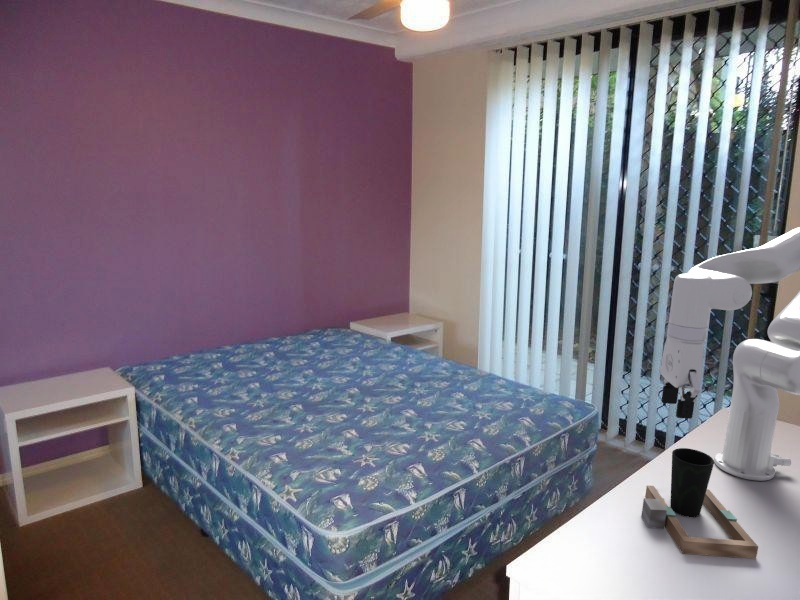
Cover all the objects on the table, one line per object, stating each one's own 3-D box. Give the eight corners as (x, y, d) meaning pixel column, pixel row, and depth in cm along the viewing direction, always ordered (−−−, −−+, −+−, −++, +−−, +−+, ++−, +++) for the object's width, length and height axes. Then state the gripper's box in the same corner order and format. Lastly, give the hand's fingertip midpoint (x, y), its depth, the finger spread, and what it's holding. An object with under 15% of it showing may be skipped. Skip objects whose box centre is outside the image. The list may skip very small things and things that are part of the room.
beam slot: (708, 500, 123) (710, 483, 122) (756, 558, 104) (760, 539, 103) (628, 494, 124) (630, 477, 123) (662, 552, 105) (665, 532, 104)
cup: (710, 523, 115) (719, 468, 112) (669, 517, 116) (677, 463, 114) (699, 502, 122) (707, 450, 119) (660, 497, 123) (668, 445, 121)
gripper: (654, 321, 131) (644, 394, 134) (685, 342, 114) (674, 426, 117) (687, 323, 130) (677, 396, 134) (725, 344, 113) (712, 428, 117)
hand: (676, 409), depth 125 cm, fingers open, 7 cm apart
